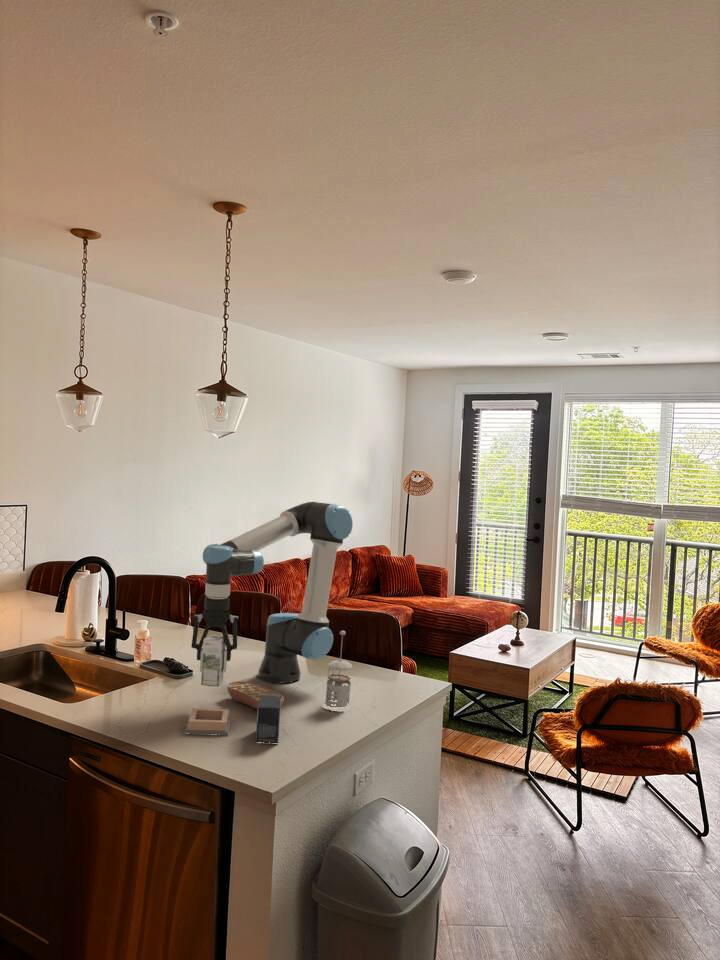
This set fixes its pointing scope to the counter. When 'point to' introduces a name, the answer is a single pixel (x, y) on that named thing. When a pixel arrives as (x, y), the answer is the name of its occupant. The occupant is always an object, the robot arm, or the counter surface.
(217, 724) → the pink square open tray
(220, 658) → the syrup box
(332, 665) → the french press
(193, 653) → the counter surface
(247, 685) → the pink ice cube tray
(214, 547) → the robot arm
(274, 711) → the small box
